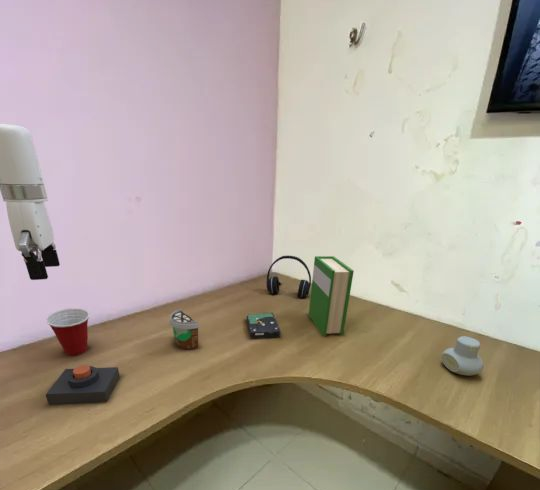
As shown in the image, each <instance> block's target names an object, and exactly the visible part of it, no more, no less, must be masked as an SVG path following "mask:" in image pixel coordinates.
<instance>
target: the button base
mask: <svg viewBox="0 0 540 490" xmlns="http://www.w3.org/2000/svg"><path fill="white" fill-rule="evenodd" d="M88 366H89V367H90V370H91V375H90V376H88V377H86V378H83V379H75V377H74V374H73V370H74V369H75V368H65V369H64V370H63V372H62V373H61V374H60V375H59V376H58V377H57V379H56V380H55V381H54V382H53V384H52V386H51V387H50V388H49V389H48V391H46V392H45V397H46V400H47V403H48V405H50V406H51V405H52V406H53V405H74V404H75V405H77V404H92V403H107V402H108V401H109V399H110V397H111V395H112V393H113V391H114V389H115V387H116V385H117V383H118V382H119V380H120V378H121V375H120V371H119V367H118V366H111V367H95V366H92V365H88Z"/></svg>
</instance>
